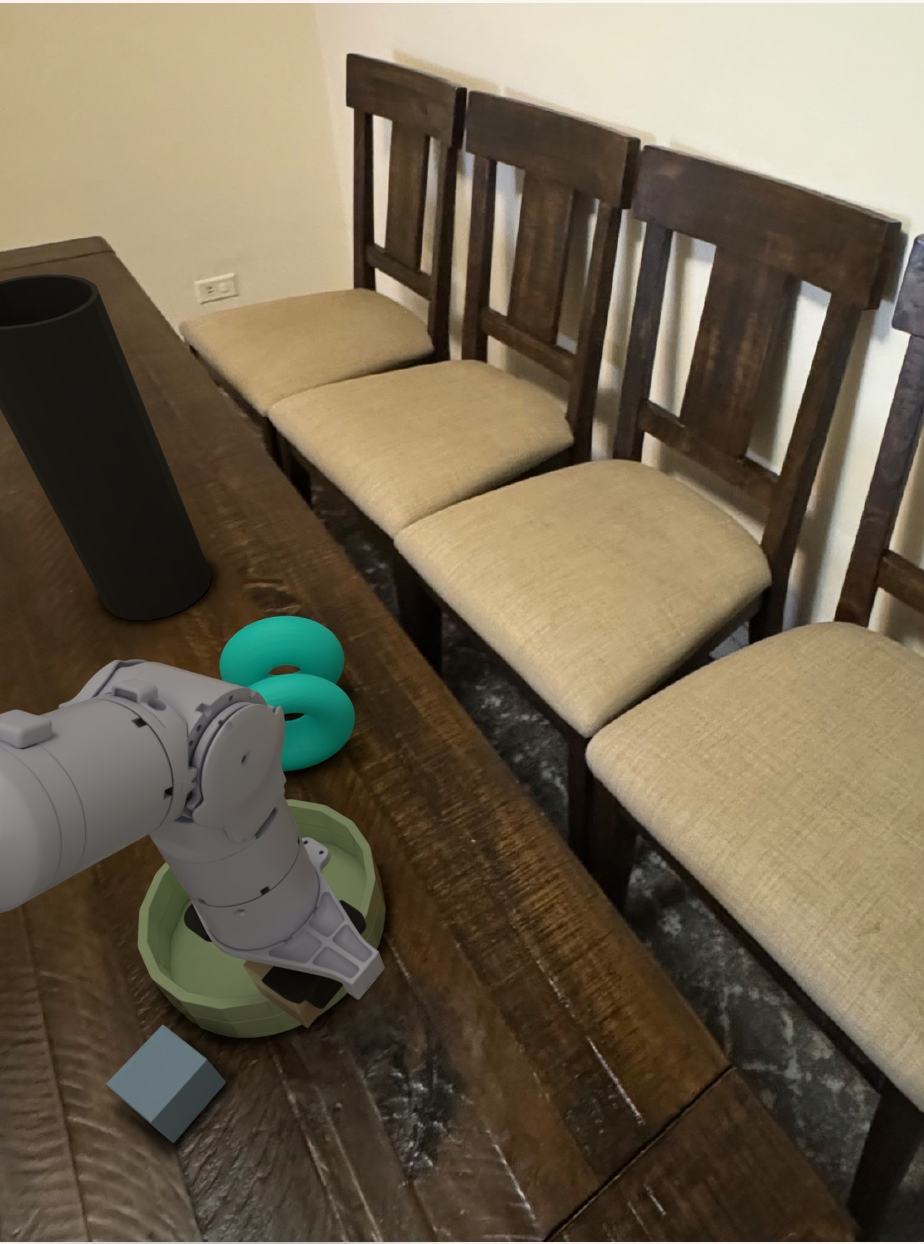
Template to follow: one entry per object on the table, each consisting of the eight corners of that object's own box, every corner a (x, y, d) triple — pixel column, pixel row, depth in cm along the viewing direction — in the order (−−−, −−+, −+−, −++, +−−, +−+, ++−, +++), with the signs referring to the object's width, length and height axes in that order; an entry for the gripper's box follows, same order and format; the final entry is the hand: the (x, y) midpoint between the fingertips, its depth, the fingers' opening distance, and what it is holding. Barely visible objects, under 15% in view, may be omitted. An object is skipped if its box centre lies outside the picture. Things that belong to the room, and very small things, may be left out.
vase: (101, 631, 83) (-61, 336, 62) (105, 567, 89) (-40, 282, 69) (214, 607, 86) (96, 318, 65) (210, 547, 92) (101, 268, 72)
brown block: (307, 1028, 51) (291, 1000, 48) (260, 993, 52) (242, 964, 50) (355, 972, 53) (342, 942, 51) (308, 940, 55) (293, 909, 52)
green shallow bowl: (274, 1085, 54) (253, 1056, 51) (115, 962, 60) (86, 928, 56) (429, 896, 64) (420, 861, 60) (280, 805, 69) (264, 768, 66)
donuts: (351, 677, 79) (329, 598, 73) (366, 759, 73) (344, 680, 66) (237, 703, 77) (203, 623, 70) (242, 791, 70) (205, 712, 63)
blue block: (173, 1143, 52) (150, 1122, 49) (130, 1106, 53) (105, 1083, 50) (226, 1082, 54) (207, 1059, 51) (183, 1048, 56) (162, 1023, 53)
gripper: (406, 861, 42) (438, 979, 52) (206, 738, 48) (268, 866, 57) (300, 982, 38) (356, 1086, 47) (91, 832, 43) (180, 953, 53)
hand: (303, 973), depth 52 cm, fingers closed on brown block, 4 cm apart
